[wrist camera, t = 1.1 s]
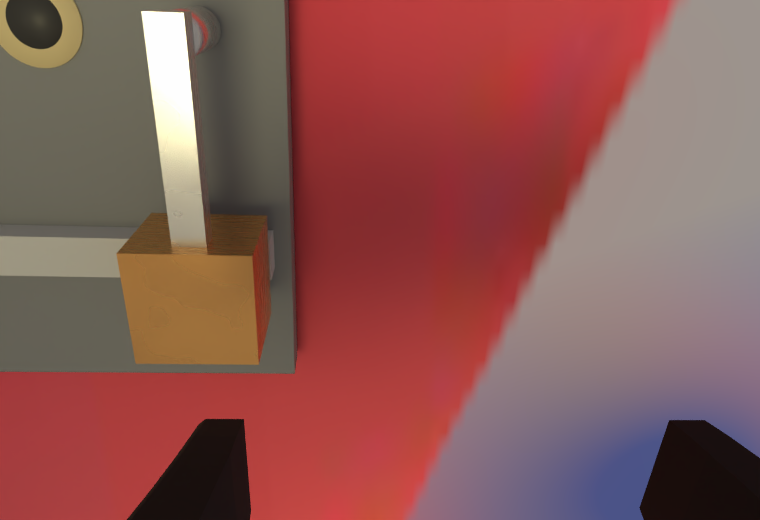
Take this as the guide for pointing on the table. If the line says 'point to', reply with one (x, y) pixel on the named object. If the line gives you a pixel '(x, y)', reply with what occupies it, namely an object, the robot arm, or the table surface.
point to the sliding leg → (191, 225)
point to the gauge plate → (128, 171)
